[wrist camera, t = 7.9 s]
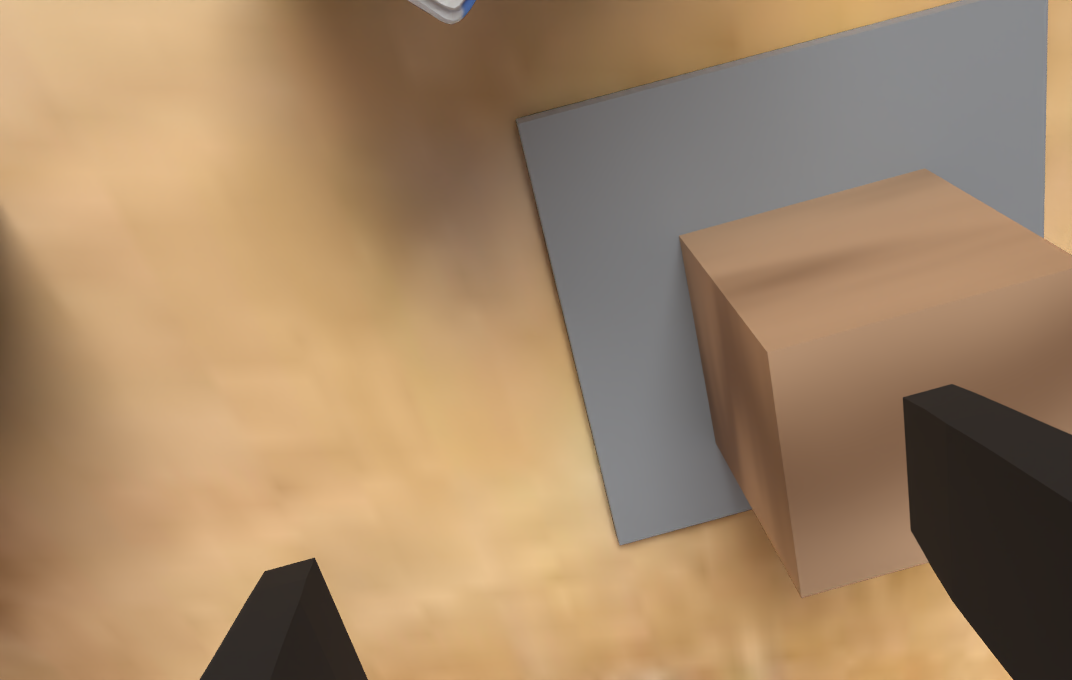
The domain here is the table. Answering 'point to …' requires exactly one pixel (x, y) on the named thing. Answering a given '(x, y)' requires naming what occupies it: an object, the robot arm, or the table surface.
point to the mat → (756, 205)
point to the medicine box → (445, 9)
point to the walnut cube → (866, 354)
